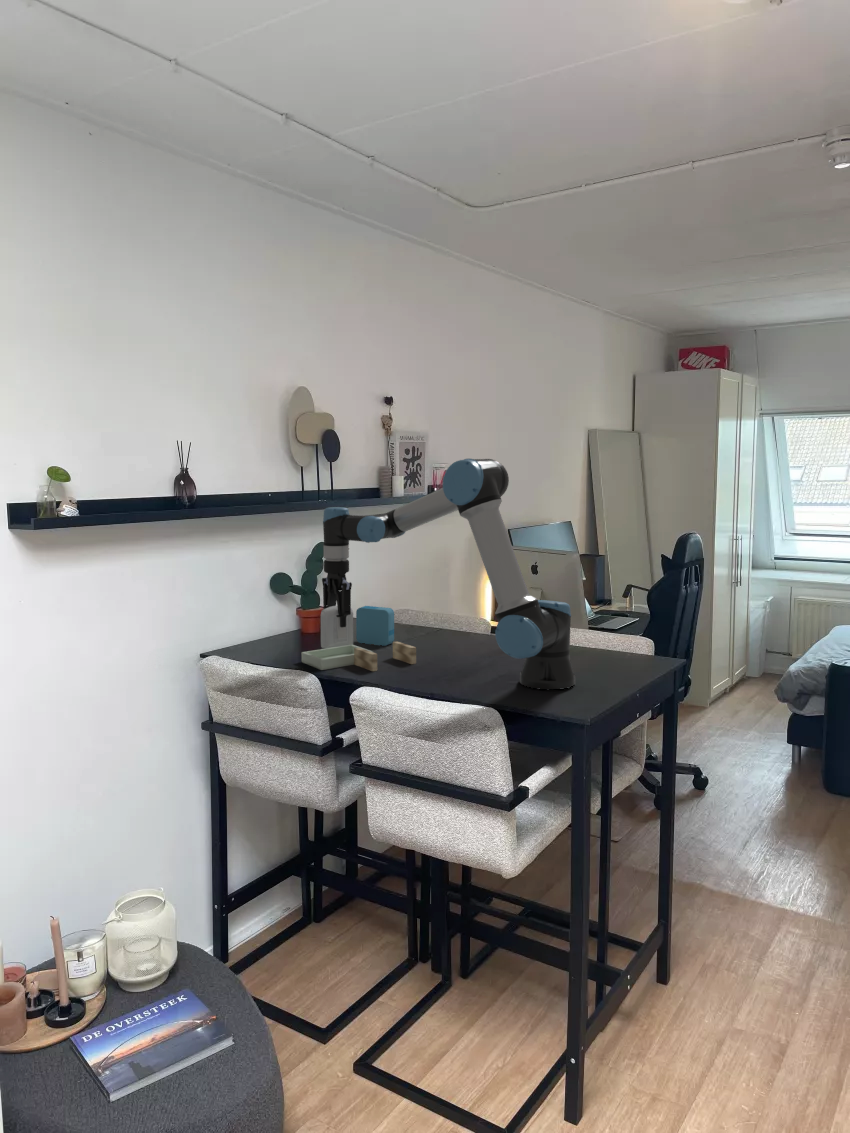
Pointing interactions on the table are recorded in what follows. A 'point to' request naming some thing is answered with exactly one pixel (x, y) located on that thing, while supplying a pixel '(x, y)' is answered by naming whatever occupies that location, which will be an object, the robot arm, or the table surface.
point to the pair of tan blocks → (370, 658)
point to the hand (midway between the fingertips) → (337, 635)
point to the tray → (330, 657)
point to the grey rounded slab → (335, 629)
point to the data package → (375, 625)
